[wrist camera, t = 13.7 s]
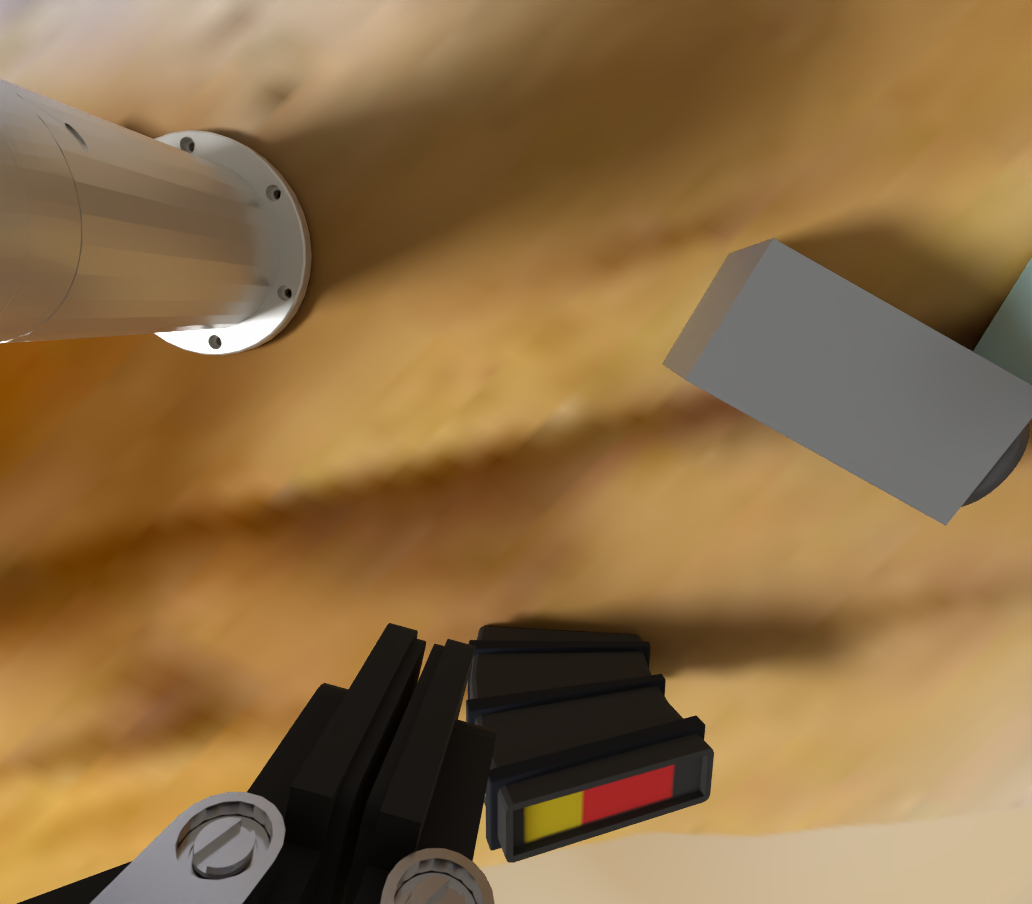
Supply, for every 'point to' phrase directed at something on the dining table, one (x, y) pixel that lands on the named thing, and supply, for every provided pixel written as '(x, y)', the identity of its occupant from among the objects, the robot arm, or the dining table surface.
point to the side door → (1012, 331)
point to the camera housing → (854, 380)
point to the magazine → (578, 738)
